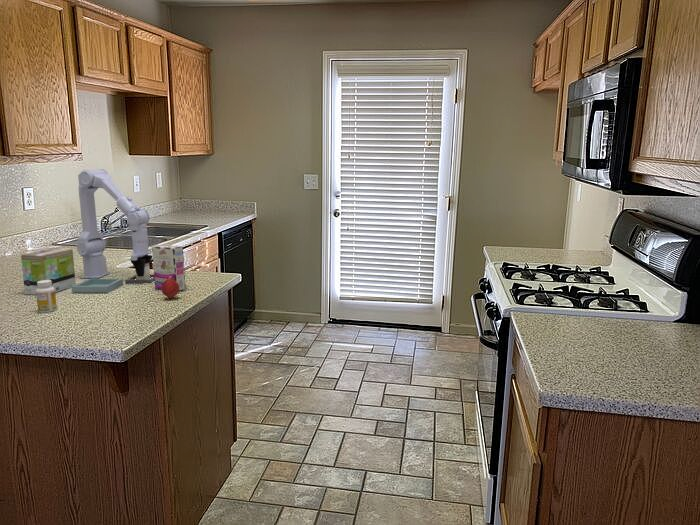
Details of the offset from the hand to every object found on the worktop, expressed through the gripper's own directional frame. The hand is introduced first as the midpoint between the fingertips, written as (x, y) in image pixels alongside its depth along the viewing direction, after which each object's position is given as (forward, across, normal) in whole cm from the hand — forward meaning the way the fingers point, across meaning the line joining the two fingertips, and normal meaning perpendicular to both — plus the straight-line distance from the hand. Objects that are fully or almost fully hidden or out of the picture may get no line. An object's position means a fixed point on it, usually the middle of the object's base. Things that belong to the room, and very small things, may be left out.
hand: (143, 275), depth 216 cm
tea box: (+3, -15, +28) cm, 32 cm away
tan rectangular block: (+2, 0, 0) cm, 2 cm away
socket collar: (+2, 0, 0) cm, 2 cm away
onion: (+3, -27, -21) cm, 34 cm away
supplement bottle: (+3, -42, +14) cm, 44 cm away
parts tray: (+2, -14, +12) cm, 18 cm away
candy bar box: (+3, -14, -16) cm, 21 cm away
